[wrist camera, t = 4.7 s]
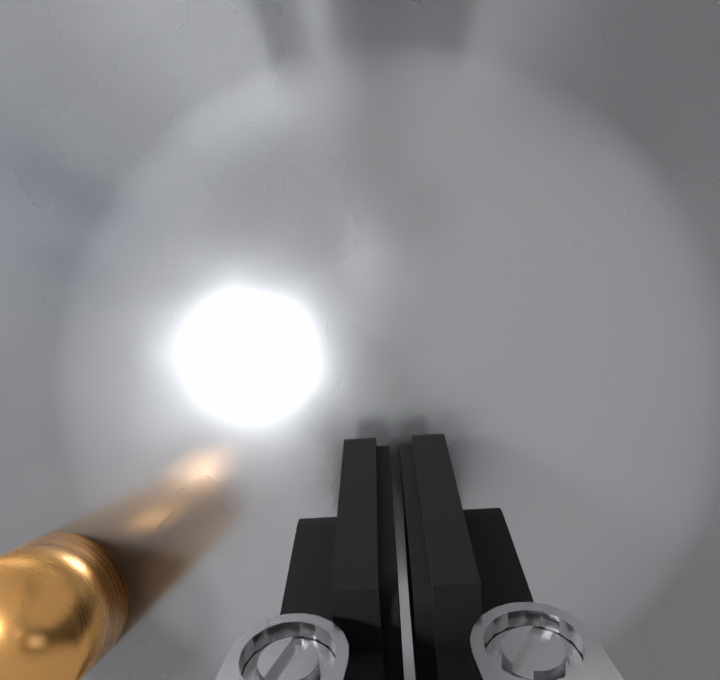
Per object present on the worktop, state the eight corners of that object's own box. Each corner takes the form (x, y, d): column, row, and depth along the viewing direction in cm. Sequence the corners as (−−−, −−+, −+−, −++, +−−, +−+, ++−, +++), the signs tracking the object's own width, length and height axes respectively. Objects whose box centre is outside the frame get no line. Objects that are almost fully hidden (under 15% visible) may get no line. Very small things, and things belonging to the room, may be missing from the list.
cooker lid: (-149, -137, 14) (-310, -288, 11) (884, -233, 13) (1045, -426, 10) (-103, 1264, 13) (-267, 1565, 10) (1029, 1246, 12) (1262, 1567, 9)
